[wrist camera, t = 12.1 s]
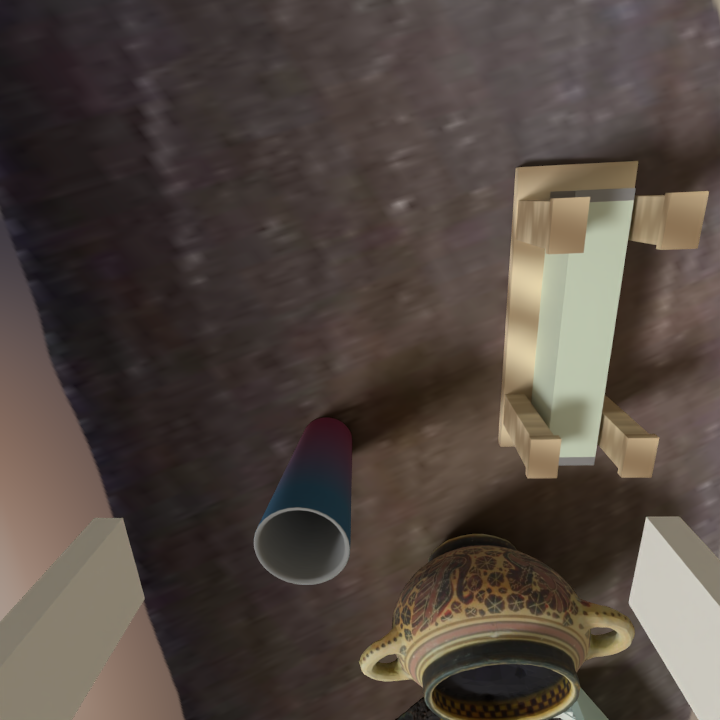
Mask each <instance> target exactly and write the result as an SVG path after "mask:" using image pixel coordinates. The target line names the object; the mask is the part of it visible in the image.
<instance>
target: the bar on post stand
mask: <svg viewBox="0 0 720 720" xmlns="http://www.w3.org/2000/svg"><path fill="white" fill-rule="evenodd" d="M637 168H638V161H627V162H608V163H589V164H570V165H551V166H532V167H518V168H516V173H515V188H514V204H513V219H512V235H511V250H510V265H509V281H508V296H507V312H506V327H505V343H504V358H503V373H502V389H501V404H500V420H499V435H498V442H499V444H500V447H508V446H515V447H516V449H517V451H518V453H519V455H520V457H521V459H522V461H523V463H524V465H525V466H526V473H525V474H526V476H527V478H557V473H558V465H559V456H560V448H561V438H560V437H559V435H553V433H552V432H551V430H550V429H549V428H548V426H547V425H546V423H545V422H544V421H543V419H542V418H541V416H540V415H539V414H538V412H537V411H536V409H535V408H534V406H533V405H532V404H531V400H532V389H533V378H534V367H535V356H536V345H537V334H538V323H539V312H540V302H541V291H542V280H543V269H544V258H545V249H546V254H571V253H584V246H585V237H586V229H587V220H588V212H589V203H590V197H572V198H551V199H550V192H554V191H575V190H596V189H620V188H635V182H636V175H637ZM708 194H709V191H697V192H676V193H665V195H635V197H634V203H633V210H632V216H631V223H630V230H629V236H628V240H631V241H636V242H642V243H648V244H654V245H657V246H656V249H660V250H670V249H695V248H698V244H699V239H700V234H701V229H702V224H703V219H704V214H705V209H706V204H707V199H708ZM658 442H659V437H658V436H657V435H655V434H648V433H647V432H646V431H645V430H644V429H643V428H642V427H641V426H639V425H638V424H637V423H636V422H635V421H634V420H633V419H632V418H631V417H629V416H628V415H627V414H626V413H625V412H624V411H623V410H622V409H620V408H619V407H618V406H617V405H616V404H615V403H614V402H613V401H612V400H610V399H609V398H608V397H607V396H606V395H604V402H603V408H602V415H601V422H600V428H599V435H598V441H597V444H598V445H599V446H600V447H601V449H602V450H603V451H604V452H605V453H606V454H607V456H608V457H609V458H610V459H611V460H612V461H613V463H614V464H615V465H616V466H617V467H618V474H619V475H620V477H621V478H634V477H652V472H653V467H654V462H655V457H656V452H657V447H658Z"/></svg>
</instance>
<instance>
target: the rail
mask: <svg viewBox="0 0 720 720" xmlns="http://www.w3.org/2000/svg"><path fill="white" fill-rule="evenodd" d="M635 190H636V188H620V189H596V190H575V191H554V192H550V199H551V198H572V197H590V203H589V212H588V220H587V229H586V237H585V246H584V253H571V254H546V249H545V258H544V269H543V280H542V291H541V302H540V312H539V323H538V334H537V345H536V356H535V367H534V378H533V389H532V400H531V404H532V405H533V406H534V408H535V409H536V411H537V412H538V414H539V415H540V416H541V418H542V419H543V421H544V422H545V423H546V425H547V426H548V428H549V429H550V430H551V432H552V433H553V435H559V437H560V438H561V448H560V456H559V465H594V461H595V455H596V448H597V441H598V435H599V428H600V422H601V415H602V408H603V402H604V395H605V388H606V382H607V375H608V369H609V362H610V355H611V349H612V342H613V336H614V329H615V322H616V316H617V309H618V302H619V296H620V289H621V283H622V276H623V269H624V263H625V256H626V250H627V243H628V236H629V230H630V223H631V216H632V210H633V203H634V197H635Z"/></svg>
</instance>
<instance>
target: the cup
mask: <svg viewBox="0 0 720 720" xmlns="http://www.w3.org/2000/svg"><path fill="white" fill-rule="evenodd" d="M351 478H352V435H351V433H350V430H349V429H348V427H347V426H346V425H345V424H344V423H342V422H341V421H339V420H337V419H334V418H328V417H325V418H319V419H316V420H314V421H312V422H311V423H310V424H309V425H308V426H307V427H306V429H305V431H304V433H303V435H302V437H301V439H300V441H299V443H298V445H297V447H296V449H295V451H294V453H293V455H292V457H291V459H290V462H289V464H288V466H287V468H286V470H285V472H284V474H283V476H282V478H281V480H280V482H279V484H278V486H277V488H276V490H275V493H274V495H273V497H272V499H271V501H270V503H269V505H268V507H267V509H266V511H265V513H264V515H263V517H262V519H261V522H260V524H259V526H258V528H257V530H256V532H255V536H254V548H255V552H256V555H257V557H258V559H259V561H260V562H261V564H262V565H263V566H264V567H265V569H267V570H268V571H269V572H270V573H271V574H273V575H274V576H276V577H278V578H279V579H282V580H284V581H287V582H290V583H294V584H301V585H312V584H318V583H323V582H325V581H328V580H330V579H332V578H333V577H335V576H336V575H338V574H339V573H340V572H341V571H342V570H343V569H344V567H345V565H346V564H347V562H348V559H349V556H350V534H351Z"/></svg>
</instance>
